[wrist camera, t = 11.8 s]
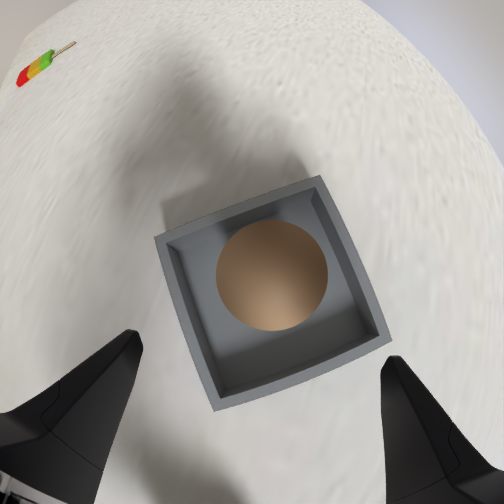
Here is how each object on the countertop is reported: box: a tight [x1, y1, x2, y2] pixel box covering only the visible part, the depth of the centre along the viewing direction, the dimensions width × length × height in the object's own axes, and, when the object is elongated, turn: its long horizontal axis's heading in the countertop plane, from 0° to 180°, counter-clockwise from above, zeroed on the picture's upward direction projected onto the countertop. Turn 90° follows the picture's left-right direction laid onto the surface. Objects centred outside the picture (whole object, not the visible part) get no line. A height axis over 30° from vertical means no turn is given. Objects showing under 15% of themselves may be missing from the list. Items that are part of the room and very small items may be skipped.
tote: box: [154, 175, 392, 412], centre depth 21 cm, size 14×14×4 cm
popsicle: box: [16, 41, 75, 87], centre depth 35 cm, size 6×15×2 cm, turn 111°
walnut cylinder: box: [216, 220, 328, 331], centre depth 18 cm, size 5×5×10 cm
